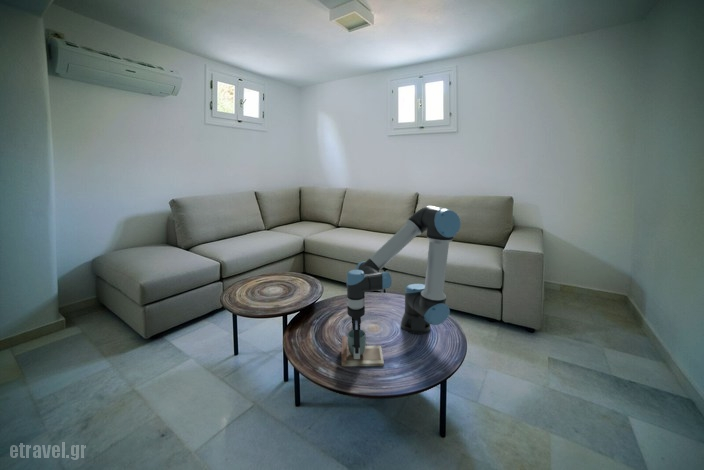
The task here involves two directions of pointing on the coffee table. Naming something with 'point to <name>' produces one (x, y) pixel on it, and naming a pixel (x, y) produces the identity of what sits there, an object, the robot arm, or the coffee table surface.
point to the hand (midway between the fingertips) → (356, 352)
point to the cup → (351, 341)
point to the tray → (362, 356)
